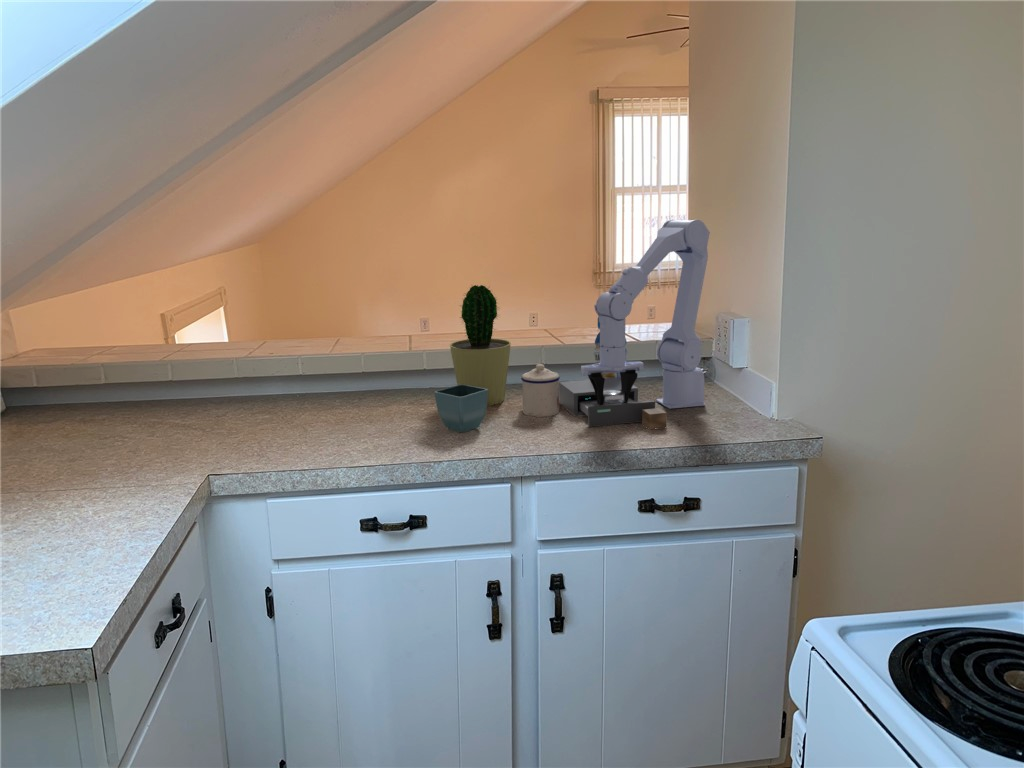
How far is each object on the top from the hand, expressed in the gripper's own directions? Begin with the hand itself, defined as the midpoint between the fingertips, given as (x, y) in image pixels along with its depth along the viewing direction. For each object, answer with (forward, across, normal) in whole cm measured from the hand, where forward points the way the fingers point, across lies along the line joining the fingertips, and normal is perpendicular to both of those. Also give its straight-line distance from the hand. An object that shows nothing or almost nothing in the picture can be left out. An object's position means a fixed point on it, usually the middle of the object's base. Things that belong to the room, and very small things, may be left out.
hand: (612, 403), depth 172 cm
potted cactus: (+3, -26, +24) cm, 36 cm away
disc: (-1, 0, 0) cm, 1 cm away
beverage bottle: (+3, +8, +22) cm, 24 cm away
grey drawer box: (+3, 0, +9) cm, 10 cm away
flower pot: (+3, -35, +1) cm, 35 cm away
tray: (+3, 0, 0) cm, 3 cm away
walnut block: (+3, +6, -10) cm, 12 cm away
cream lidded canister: (+3, -15, +10) cm, 19 cm away
